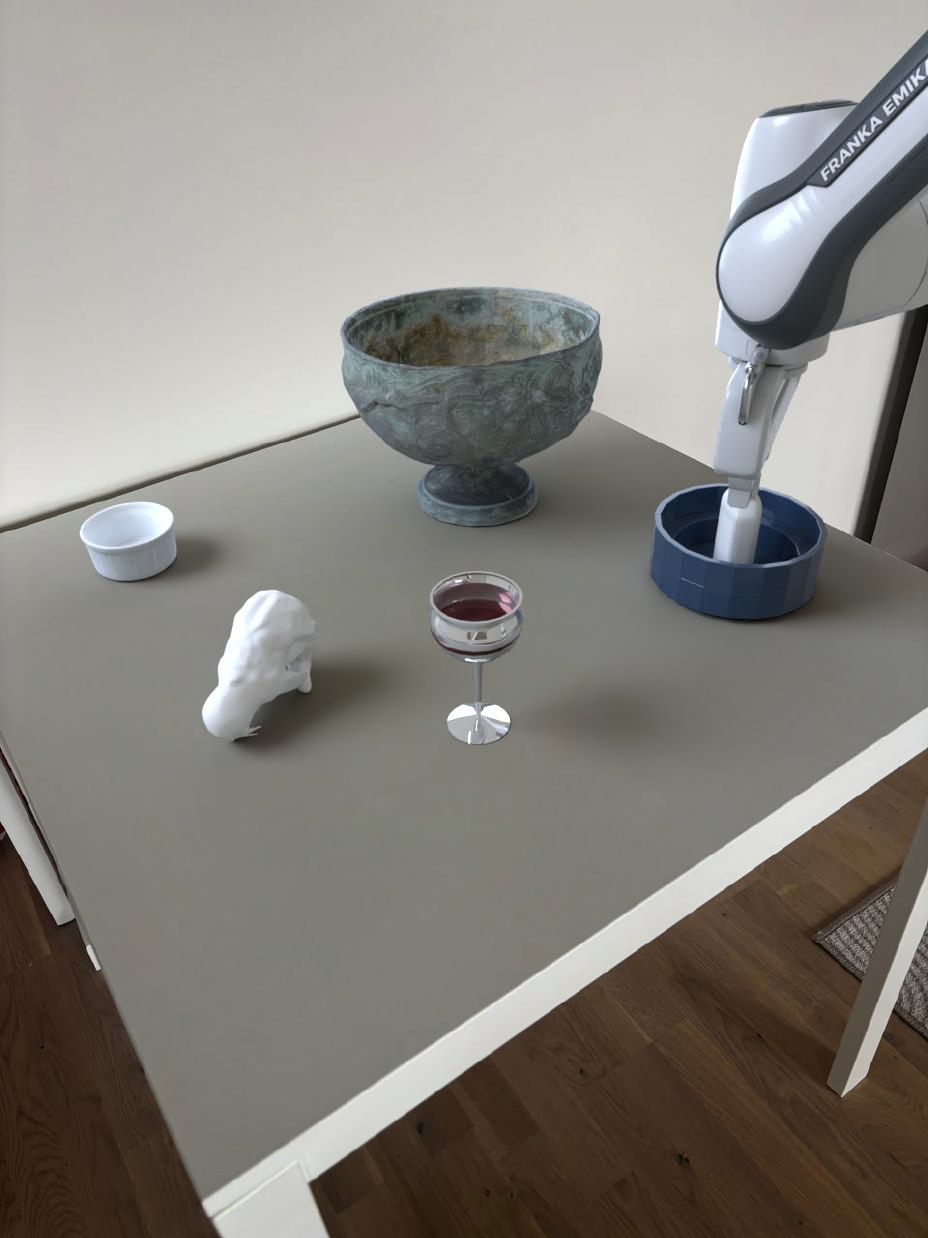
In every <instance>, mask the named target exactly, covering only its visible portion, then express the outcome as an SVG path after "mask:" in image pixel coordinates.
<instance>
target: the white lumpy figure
mask: <svg viewBox="0 0 928 1238" xmlns="http://www.w3.org/2000/svg"><path fill="white" fill-rule="evenodd" d="M318 626H319V625H318V623H317V622H316V621H315V620H314V619H313V618H312V617H311V614H310V612H309V610H308V609H307V607H306V605H305V604H304V603H303V602H302V601H301V600H300V599H298V598H297V597H294V596H293V595H290V594H287V593H285V592H283V591H280V590H278V589H268V590H260V591H257V592H256V593H255V594H254V595H252V596H251V597H250V598H248V599H247V600H246V601H245V603H244V604H243V606H242V607H241V608H240V609H239V610H238V611H237V612H236V614H235V615H234V618H233V623H232V627H231V632H230V637H229V639H228V641H227V643H226V645H225V649H224V653H223V656H222V657H221V658H220V660H219V662H218V665H217V676H218V686H216V687H215V689H214V690H213V691H212V692H211V693H210V694H209V695H208V697H207V699H206V700H205V702H204V703H203V706H202V711H201V715H202V720H203V724H204V725H205V727H206V729H207V731H208V732H209V733H210V734H212V735H213V736H214V737H216V738H219V739H224V740H227V741H228V742H234V741H235V740H236V739H239V738H242V737H243V738H244V737H251V736H257V735H258V733H254V731H257V730H258V729H260V728H262V726H263V725H262V726H261V725H258V726H254V723H252V720H254V716H255V714H256V713H257V712H258V711H259V710H260V708H261V707H262V706H263V705H264V704H267V703H270V702H272V701H274V700H275V699H276V697H277V696H280V695H282V694H285V693H289V692H291V691H293V690H295V689H297V690H298V691H299V692H301V693H304V694H308V693H310V692H311V691H312V688H313V687H312V685H313V683H312V680H311V670H312V666H313V665H312V660H313V655H314V650H315V648H316V647H317V644H318V643H317V642H318ZM286 667H287V668H286Z"/></svg>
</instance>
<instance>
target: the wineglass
mask: <svg viewBox="0 0 928 1238" xmlns="http://www.w3.org/2000/svg"><path fill="white" fill-rule="evenodd" d="M523 599H524V596H523V592H522V589H521V588H520V586H519V585H518V584H517V582H516V581H515V580H512V579H511V578H509V577H507V576H505V575H503V574H499V573H496V572H494V571H493V572H492V571H483V570H473V571H471V570H470V571H463V572H459V573H454V574H451V575H450V576H448V577H445V578H443V579H440V581H439V582H437V583H436V585H434V586H433V587H432V589H431V592H430V594H429V602H430V605H431V607H432V609H431V612H430V615H429V620H430V632H431V635H432V636H433V639H435V642H436V644H438V646H439V647H440V649H441V650H442V651H444V652H445V653H446V654H448V655H449V656H451V657H453V658H454V659H456V660H459V661H461V662H464V663H467V664H472V676H473V677H472V678H473V679H472V680H473V690H474V701H473V702H471V701H470V702H467V703H464V704H461V705H460V706H457V707H456V708H454V709H453V710H452V712H450V713H449V715H448V716H447V717H448V718H447V720H446V725H447V729H448V731H449V733H450V734H451V736H453V737H455V739H457V740H459V741H461V742H464V743H466V744H472V745H483V744H484V745H485V744H489V743H490V744H491V743H493V742H496V741H498V740H499V739H502V738H503V737H505V735H506V734H507V733H508V732H509V729H510V726H511V720H510V719H511V718H510V716H509V714H508V713H507V712H506V710H505V709H503V708H502V707H500V705H496V704H494V703H491V702H486V701H482V693H483V691H482V689H483V665H484V664H485V663H490V662H493V661H495V660H497V659H498V658H500V657H502V656H503V655H505V654H507V653H508V652H510V651H511V650H512V649H513V647H514V646H515V645H516V644H517V642H518V640H519V638H520V636H521V632H522V629H523V624H524V617H523V613H522V608H521V604H522V601H523Z"/></svg>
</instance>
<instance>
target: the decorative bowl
mask: <svg viewBox="0 0 928 1238" xmlns="http://www.w3.org/2000/svg"><path fill="white" fill-rule="evenodd" d="M600 324H601V314H600V313H599V311H598V310H596V309H593V308H592V306H590V304H587V303H586V302H584V301H582V300H579V299H576V298H575V297H572V296H568V295H565V294H563V293H557V292H556V293H555V292H551V291H548V290H540V289H536V288H527V287H517V286H516V287H515V286H489V285H488V286H455V287H454V286H453V287H440V288H432V289H426V290H419V291H414V292H408V293H403V294H399V295H395V296H391V297H388V298H385V299H384V298H383V299H380V300H376V301H374V302H372V303H370V304H368V305H366V306H362V307H360V308H359V309H357V310H356V311H355V312H353V313H352V314H351V315H349V316H348V317H346V319H345V320H344V321H343V322H342V323H341V326H340V329H339V334H340V338H341V341H342V346H343V351H344V355H343V357H342V361H341V375H342V380H343V386H344V388H345V390H346V392H347V394H348V397H350V400H351V401H352V403H353V404H354V406H355V407H356V410H357V413H358V414H359V417H360V418H361V419H362V421H363V422H364V423H365V424H366V425H367V426H368V428H369V429H370V430H372V431H373V433H375V435H377V437H378V438H379V439H380V440H382V441H383V443H384V444H386V445H388V447H390V448H391V449H392V450H394V451H395V452H398V453H399V454H401V455H402V456H403V455H404V456H405V457H407V458H409V459H411V460H414V461H416V462H419V463H422V464H425V465H428V466H429V465H431V466H433V467H431V468H430V469H428V471H427V472H426V473H425V474H424V475H422V477H421V478H420V480H419V482H418V484H417V488H416V498H417V501H418V502H417V503H418V505H419V507H420V509H422V511H423V512H425V513H426V514H427V515H428V516H430V517H431V518H433V519H436V520H437V521H440V522H443V523H448V524H453V525H456V526H465V527H486V526H487V527H489V526H490V527H491V526H497V525H501V524H505V523H508V522H512V521H514V520H517V519H520V518H522V517H524V516H526V515H528V514H529V513H530V512H531V511H532V510H533V509H534V508H535V506H536V505H537V503H538V499H539V498H538V485H537V483H536V481H535V479H534V478H533V477H532V475H530V474H529V473H528V472H527V471H526V470H525V469H524V468H523V467H521V466H520V465H518V463H520V462H521V461H523V460H524V459H528V458H530V457H533V456H535V455H537V454H539V453H541V452H543V451H545V450H547V449H549V448H551V447H553V446H554V445H556V444H558V443H559V442H561V441H562V440H564V439H566V438H569V437H570V436H571V435H572V434H573V433H574V432H575V430H576V429H577V427H578V426H579V424H580V423H581V422H582V420H583V419H585V417H586V416H587V415H588V414H589V413H590V411H591V409H592V405H593V403H594V401H595V400H594V394H595V391H596V389H597V386H598V382H599V378H600V377H599V376H600V374H601V371H602V366H603V357H604V356H603V355H604V353H603V351H604V350H603V342H602V339H601V337H600Z"/></svg>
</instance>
